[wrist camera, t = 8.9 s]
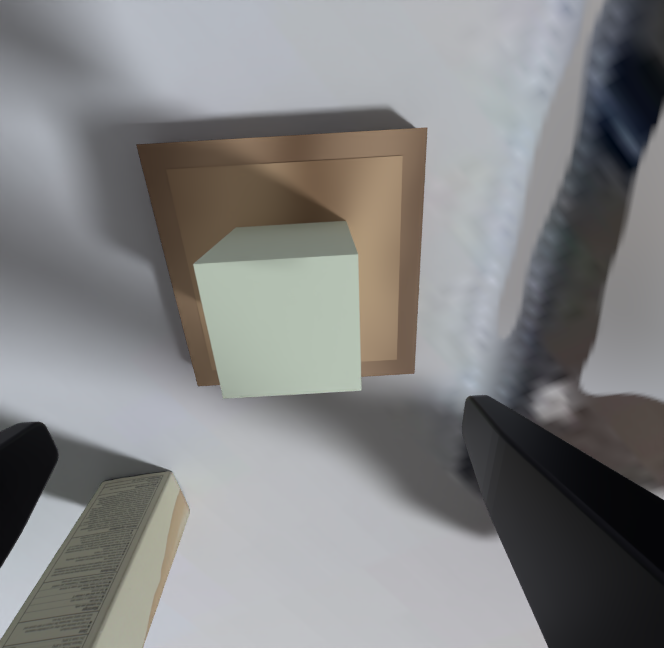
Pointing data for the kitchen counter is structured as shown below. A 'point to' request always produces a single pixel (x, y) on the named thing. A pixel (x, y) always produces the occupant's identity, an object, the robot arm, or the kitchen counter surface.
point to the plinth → (299, 221)
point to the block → (283, 309)
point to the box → (107, 569)
